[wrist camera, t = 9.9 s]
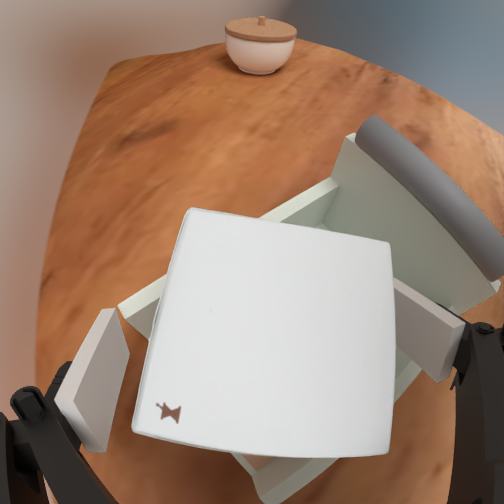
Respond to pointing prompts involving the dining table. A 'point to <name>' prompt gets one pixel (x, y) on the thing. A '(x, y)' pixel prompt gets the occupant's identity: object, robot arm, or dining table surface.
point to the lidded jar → (259, 44)
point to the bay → (402, 253)
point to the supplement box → (271, 341)
